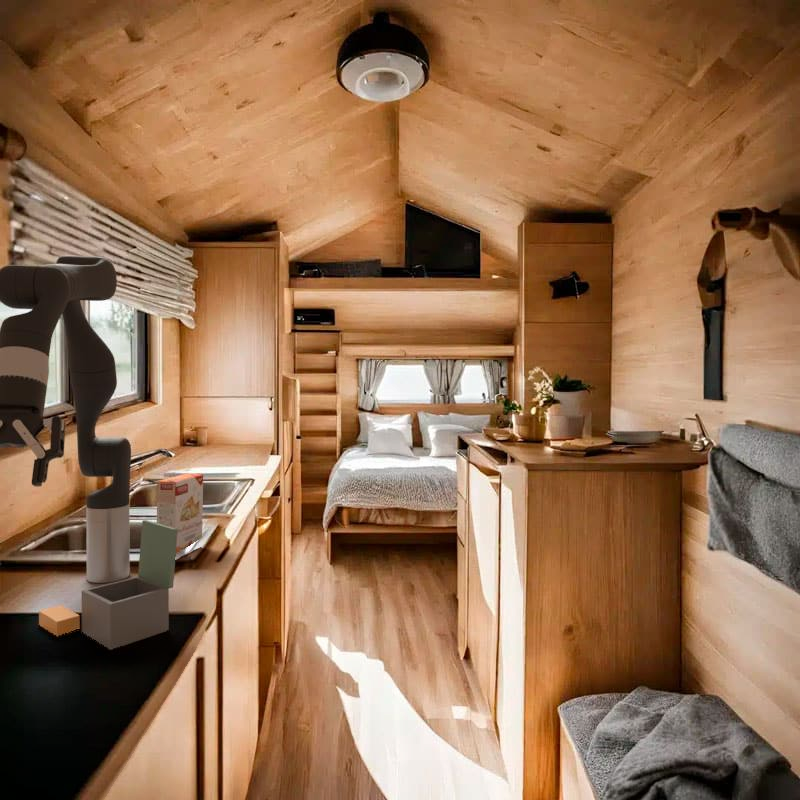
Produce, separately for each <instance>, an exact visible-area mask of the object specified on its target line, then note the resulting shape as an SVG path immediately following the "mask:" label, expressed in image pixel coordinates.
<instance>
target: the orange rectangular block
mask: <svg viewBox="0 0 800 800" xmlns="http://www.w3.org/2000/svg"><path fill="white" fill-rule="evenodd" d="M80 616H81V615H79V614H78V613H76V612H74V611H73V610H71V609H69V608H67V607H65V606H64V605H57V606H54V607H53V606H52V607H50V608H46V609H41V610H39V611H38V626H39V625H40V627H42V629H45V630H46V631H47V630H48V631H47V632H49V633H51V634H52V633H53V634H52V635H54V636H55V635H56V637H60V636H63V635H62V634H64V635H66V634H65V633H67V634H70V633H72V632H71V631H74V630H76V629H80V630H81V628H80V627H81V626H80V625H81V624H80V621H81V620H80ZM69 632H70V633H69ZM74 632H75V631H74ZM59 635H60V636H59Z"/></svg>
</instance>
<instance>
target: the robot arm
mask: <svg viewBox="0 0 800 800" xmlns="http://www.w3.org/2000/svg"><path fill="white" fill-rule="evenodd" d="M117 284H118V278H117V272H116V269H115V266H114V263H112V261H110V260H109V259H107V258H105V257H100V256H90V255H89V256H88V255H87V256H86V255H85V256H83V255H66V254H65V255H61V256H59V257H58V258H57V259H56V262H55V263H48V264H43V265H26V264H25V265H24V264H7V265H5V266H3V267H1V268H0V303H2V304H3V305H4V306H6V307H8V308H11V309H18V310H29V311H27V312H24V313H20V314H15V315H11V316H8V317H6V318H5V319H3V321H2V322H1V324H0V448H1V449H3V448H5V449H6V448H10V447H16V448H25V447H26V446H28V447H29V449H30V450H31V451H32V452H33V454H34V455H35V457H36V459H34V462H33V466H32V467H33V468H32V469H33V470H32V475H31V486H34V487H36V488H37V487H42V485H43V483H46V481H47V479H48V471H49V464H50V462H51V461H52V460H55V459H60V458H63V457H64V455H65V440H66V439H65V438H66V422H65V420H63V419H62V418H61V417H60V416H59V415H55V416H53V417H52V418H44V412H45V403H46V397H47V391H48V382H49V381H48V380H49V373H50V366H49V365H50V363H49V361H50V351H51V345H52V338H53V334H54V332H55V331H56V330H55V329H56V328H57V325H58V323H59V320H60V319H61V317H62V319H63V324H64V331H65V337H66V347H67V354H68V355H67V357H68V367H69V376H70V384H71V390H72V395H73V403H74V410H75V419H76V433H77V434H76V437H77V438H76V440H77V460H78V466H79V470H80V472H81V474H82V475H83V476H85V477H89V478H90V477H91V478H92V477H94V478H101V477H102V478H106V477H110V478H111V477H113V478H112V483H110V484H109V485H107V486H106V487H103V488H100V489H98V490H94V491H93V492H91V493H89V494H87V496H86V499H85V500H86V501H85V502H86V503H85V506H86V509H85V511H86V515H85V516H86V517H85V518H86V519H85V520H86V539H85V540H86V581H88V582H89V583H96V584H105V583H106V584H108V583H113V582H117V581H121V580H125V579H128V577H130V573H131V572H130V571H131V567H130V565H131V564H130V563H131V561H130V560H131V558H130V557H131V556H130V552H131V551H130V548H131V547H130V544H131V541H130V532H131V531H130V530H131V529H130V523H131V521H130V493H131V492H130V491H131V488H130V487H131V485H130V484H131V466H132V465H131V464H132V463H131V462H132V448H131V444H130V441H129V439H128V438H127V437H97V436H96V426H97V423H98V420H99V418H100V416H101V414H102V412H103V411H104V409H105V408H106V406H107V405H108V404H109V402H110V400H111V399H112V397H113V396H114V394H115V391H116V389H117V386H118V385H117V384H118V380H117V379H118V378H117V369H116V360H115V356H114V354H113V352H112V350H111V348H109V347H108V345H107V344H106V343H105V341H104V340H103V339H102V338H101V337H100V336H99V334H98V333H97V332H96V331H95V329H94V328H93V327H92V325H91V324H90V322H89V321H88V319H87V317H86V315H85V312H84V309H83V307H82V302H81V301H90V302H91V301H92V302H95V301H96V302H102V301H107V300H110V299H111V298H112V297H114V295H115V294H116V290H117ZM45 427H46V430H48V431H49V433H50V445H49V446H50V447H49V448H48V449H46V448H44V447H45V446H44V445H43V443H42V442H41V441H40V439H38V435H39V434H40V433H41V432H42V431H43V430H44V429H45Z"/></svg>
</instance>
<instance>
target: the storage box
mask: <svg viewBox="0 0 800 800" xmlns="http://www.w3.org/2000/svg"><path fill="white" fill-rule="evenodd" d="M169 589H170V588H167V587H164V586H162V585H159V584H157V583H154V582H152V581H149V580H147V579H145V578H142V577H140V576H138V575H137V576H134V577H130V578H124V579H122V580H118V581H114V582H108V583H106V584H105V583H104V584H102V585H98V586H93V587H90V588H86V589H82V590H81V633H82V632H83V633H84V634H86V635H87V636H86V635H85V636H86V637H88V636H89V637H91V638H92V639H91V638H90V639H91V640H93V639H94V640H96V641H97V642H96V641H95V642H96V643H98V642H99V643H98V644H100V645H101V644H102V645H101V646H103V645H104V648H106V647H107V649H108V650H111V651H112V650H114V648H115V649H118V648H121V647H124V646H126V645H129V644H132V643H135V642H138V641H141V640H144V639H147V638H150V637H153V636H156V635H159V634H162V633H165V632H167V630H168V631H169V630H170V629H169V628H170V627H169V624H170V623H169V621H170V620H169V619H170V617H169V616H170V615H169V608H170V607H169V606H170V605H169V599H170V598H169V597H170V595H169V592H170V590H169ZM84 634H83V635H84ZM89 637H88V638H89ZM94 640H93V641H94ZM120 646H121V647H120ZM117 647H118V648H117Z"/></svg>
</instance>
